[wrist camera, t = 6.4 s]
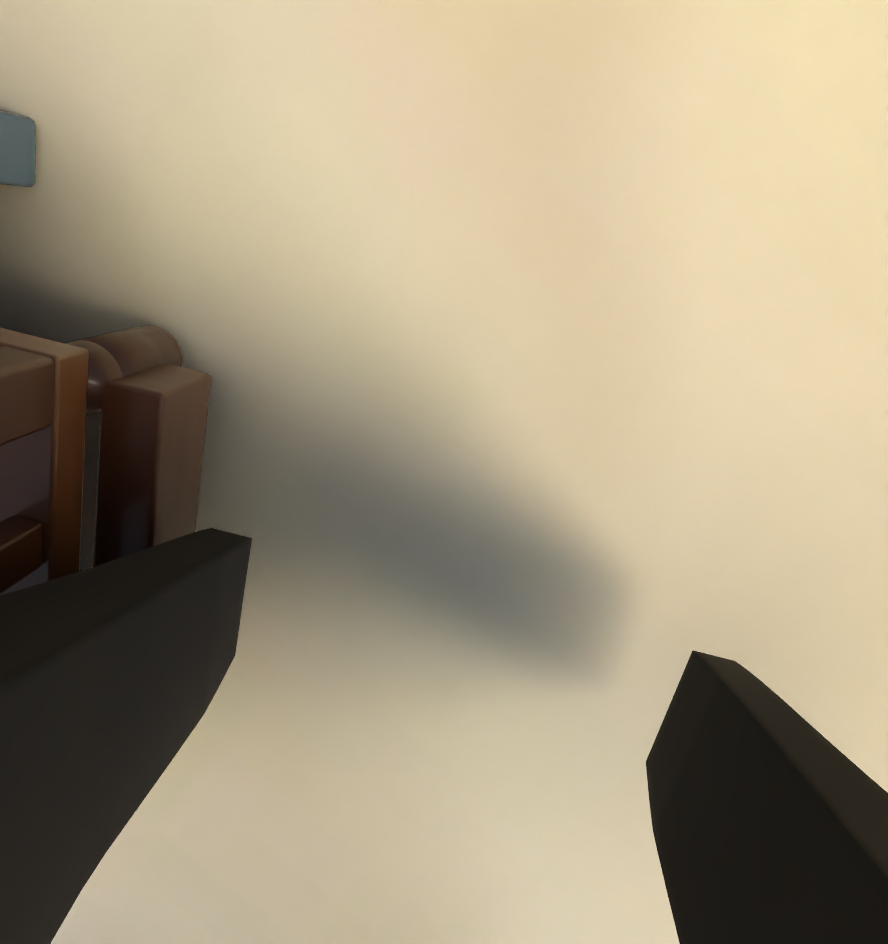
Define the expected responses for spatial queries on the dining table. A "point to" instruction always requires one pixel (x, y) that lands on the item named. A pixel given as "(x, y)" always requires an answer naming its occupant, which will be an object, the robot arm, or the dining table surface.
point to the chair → (120, 448)
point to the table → (17, 150)
